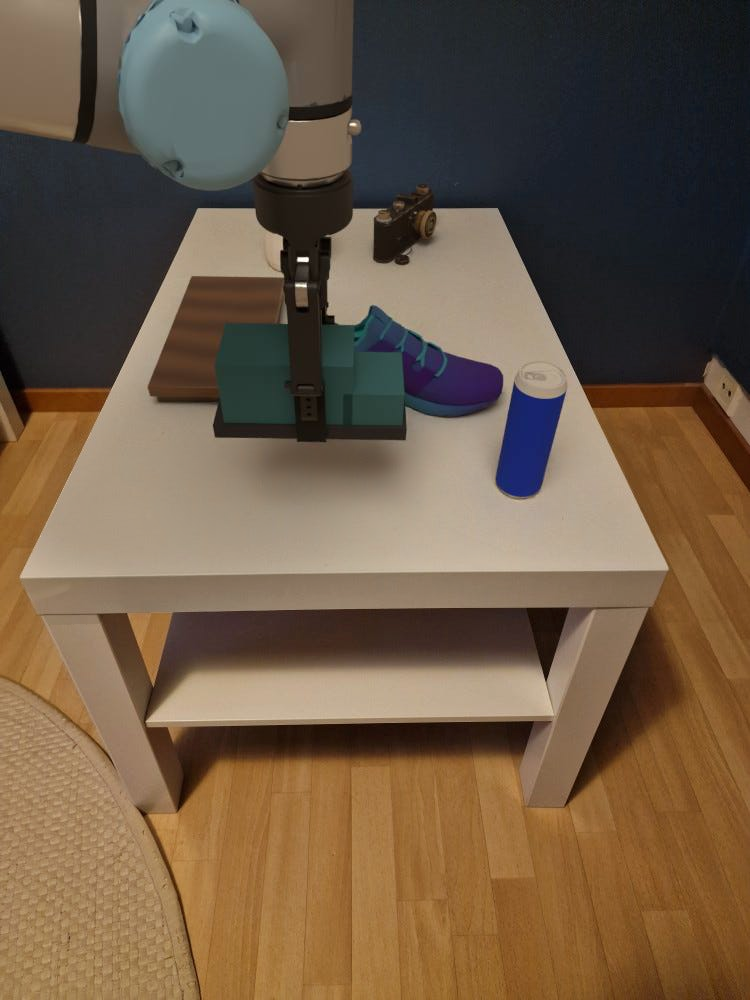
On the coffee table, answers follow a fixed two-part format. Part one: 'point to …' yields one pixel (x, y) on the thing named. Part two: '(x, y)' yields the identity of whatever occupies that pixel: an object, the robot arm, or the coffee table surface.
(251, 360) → the teal stepped block
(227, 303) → the brown wooden board
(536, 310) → the coffee table surface
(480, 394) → the sneaker
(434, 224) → the camera
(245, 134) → the robot arm
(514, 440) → the beverage can
